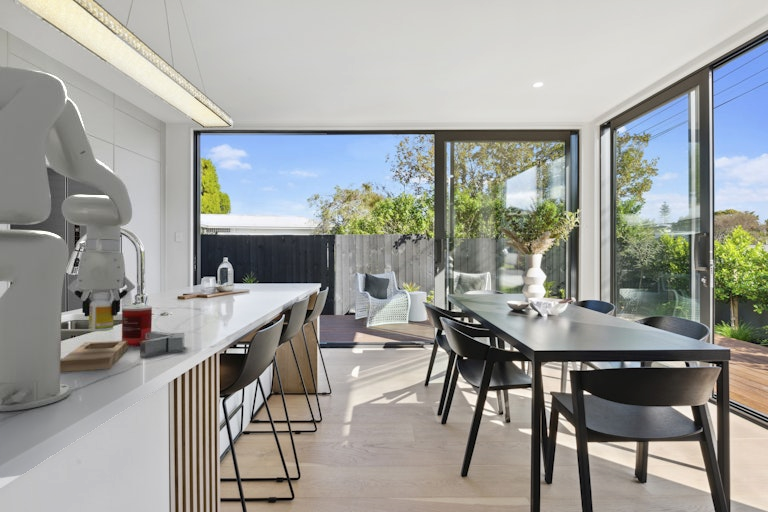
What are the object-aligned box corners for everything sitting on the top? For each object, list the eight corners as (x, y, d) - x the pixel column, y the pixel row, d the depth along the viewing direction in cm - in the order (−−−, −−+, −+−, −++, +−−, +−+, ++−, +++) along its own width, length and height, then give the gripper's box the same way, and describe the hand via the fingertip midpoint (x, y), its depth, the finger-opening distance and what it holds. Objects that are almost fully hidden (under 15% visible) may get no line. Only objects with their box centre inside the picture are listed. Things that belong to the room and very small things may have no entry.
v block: (139, 357, 110) (139, 342, 110) (148, 344, 124) (149, 331, 124) (180, 355, 113) (181, 340, 113) (185, 343, 128) (185, 329, 128)
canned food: (148, 339, 131) (149, 304, 131) (153, 344, 125) (154, 307, 125) (119, 342, 126) (120, 306, 126) (123, 347, 120) (124, 309, 120)
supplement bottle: (118, 328, 113) (119, 292, 114) (102, 332, 108) (103, 294, 108) (99, 328, 114) (100, 292, 114) (83, 331, 109) (84, 293, 109)
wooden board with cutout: (109, 368, 100) (109, 358, 100) (58, 372, 96) (58, 361, 96) (127, 349, 118) (127, 340, 118) (85, 351, 115) (85, 342, 115)
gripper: (59, 245, 105) (56, 318, 104) (137, 247, 111) (135, 316, 111) (69, 246, 112) (67, 314, 111) (142, 248, 118) (141, 312, 118)
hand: (101, 314), depth 111 cm, fingers closed on supplement bottle, 5 cm apart
